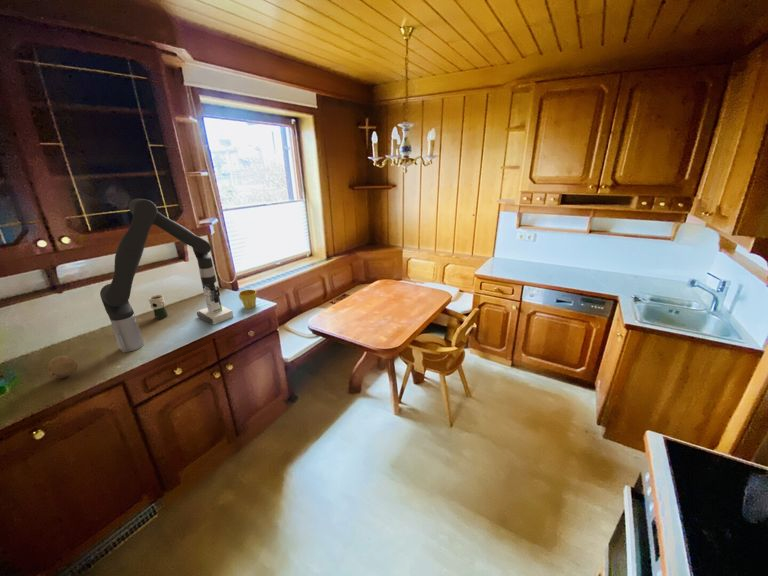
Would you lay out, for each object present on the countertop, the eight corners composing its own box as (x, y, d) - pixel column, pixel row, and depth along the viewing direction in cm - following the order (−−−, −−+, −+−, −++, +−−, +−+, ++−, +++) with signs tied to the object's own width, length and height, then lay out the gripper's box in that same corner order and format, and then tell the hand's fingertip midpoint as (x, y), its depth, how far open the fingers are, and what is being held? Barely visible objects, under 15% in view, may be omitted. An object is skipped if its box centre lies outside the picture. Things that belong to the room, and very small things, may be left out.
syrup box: (212, 313, 183) (207, 290, 177) (207, 310, 186) (202, 288, 181) (222, 310, 187) (217, 287, 182) (217, 307, 190) (212, 285, 185)
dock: (211, 325, 179) (210, 319, 177) (197, 317, 187) (196, 311, 186) (233, 316, 188) (232, 310, 187) (219, 309, 197) (218, 303, 196)
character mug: (149, 317, 186) (143, 297, 181) (161, 312, 192) (155, 293, 187) (162, 321, 182) (156, 301, 177) (173, 316, 188) (168, 296, 183)
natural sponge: (86, 369, 140) (78, 350, 137) (71, 382, 132) (62, 362, 128) (63, 370, 139) (55, 351, 135) (46, 384, 131) (37, 364, 127)
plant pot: (248, 311, 195) (245, 297, 191) (237, 307, 200) (235, 293, 196) (261, 305, 203) (259, 291, 199) (251, 301, 208) (249, 288, 204)
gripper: (194, 273, 179) (200, 299, 185) (207, 279, 171) (213, 306, 178) (208, 270, 185) (213, 295, 191) (220, 275, 177) (225, 301, 183)
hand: (213, 300), depth 184 cm, fingers open, 8 cm apart
